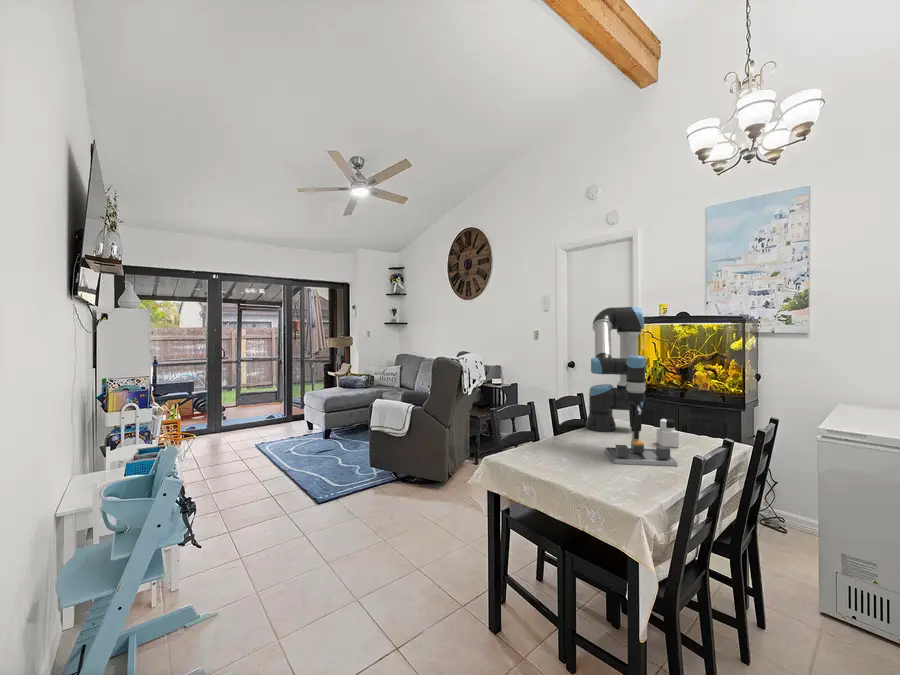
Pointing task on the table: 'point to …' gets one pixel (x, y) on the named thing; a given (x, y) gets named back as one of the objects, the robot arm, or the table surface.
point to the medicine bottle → (667, 434)
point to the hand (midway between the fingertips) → (635, 445)
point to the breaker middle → (637, 446)
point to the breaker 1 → (622, 451)
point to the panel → (640, 458)
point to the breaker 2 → (662, 452)
